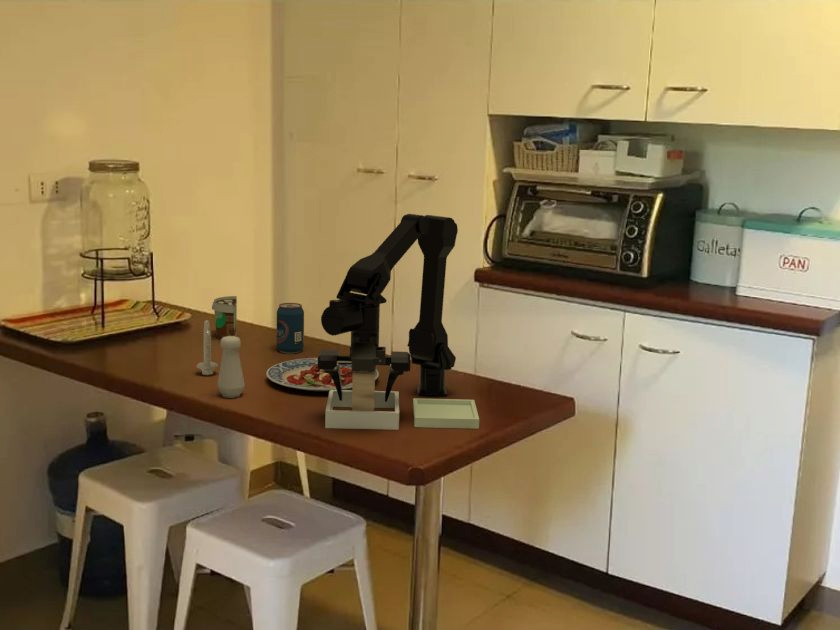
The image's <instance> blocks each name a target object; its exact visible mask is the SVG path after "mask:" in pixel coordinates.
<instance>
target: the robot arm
mask: <svg viewBox="0 0 840 630" xmlns="http://www.w3.org/2000/svg"><path fill="white" fill-rule="evenodd" d="M458 231H459V229H458V224H457V223H456V221H455V220H454V219H453V218H452V217H449V216H440V215H432V214H426V215H421V214H414V213H407V214H404V215H402V217H401V219H400V222H399V224H397V226H396V227H395V228H394V229H393V231H392V232H391V233H390V234H389V235H388V236H387V237H386V239H384V240H383V242H382V243H381V244H380V245H379V246H378V248H377V249H376V250H375V251H374V252H373V253H371V254H370V255H367V256H364V257H362V258H360V259H358V260H357V261H356V262H355V263H354V264H352V265H351V266H349V267H350V268H348V271H347V273H346V275H345V277H344V280H343V282H342V284H341V286H340V288H339V290H338V292H337V294H336V299H331V300H329V305H328V306H327V307H326V308H325V309H323V312H322V314H321V316H320V318H321V319H320V323H321V326H322V328H323V330H324V331H325V333H326V334H328V335H330V336H338V335H341V334H347V333H350V346H349V354H339V349H321V350H320V351H319V352H318V356H317V358H318V368H317V369H324V373H329V374H330V376H331V377H332V379H333V381H334V384H335V386H336V390H337V393H338V396H339V399H340V401H342V383H341V373H340V364H351V369H352V371H355V372H359V371H368V372H374V371H375V370H377V366H389V367H388V371H387V372H388V373H387V378H386V385H385V390H384V391H385V402H387V400H388V397H389V394H390V392H391V391H392V388H393V386H394V384H395V383H396V380H397V378H398V377H399V376H404V373H406V372H408V373H409V372H411V364H413V365H418V366H419V384H417V385H416V387H417V388H416V389H417V396H418V395H419V396H435V397H436V396H437V397H438V396H439V397H440V396H441V397H442V396H443V397H445V396H446V397H447V396H448V391H447V386H446V370H447V371H449V370H450V371H451V370H452V369H453V368H454V367H455V364H456V360H457V358H456V356H455V354H454V353H453V352H452V350H451V348H450V347H449V341H448V340H449V338H448V337H449V336H448V333H447V331H446V329H445V327H444V325H443V309H444V308H443V307H444V294H445V284H446V283H445V281H446V271H447V270H446V269H447V260H448V259H447V258H448V256H449V255H450V253H452V251H453V249H454V248H455V246H456V241H457V237H458V236H457V235H458ZM416 241H417V244H418V246H419V249H420V251H421V253H422V255H423V265H422V277H421V278H422V279H421V291H420V292H421V293H420V307H419V320H418V322H417V323H416V325H415V326H414V328H410V329H409V331H408V342H407V348H408V351H409V352H408V351H391V352H390V355H386V353H387V352H386V350H387V347H386V346H379V345H380V312H381V311H380V309H381V308H380V307H381V306H380V305H382V304H385V303H387V301H388V300H387V299H386V298H385V297H384V296H383V295H382V293H384V290H385V289H386V288H387V286H388V285H389V283H390V282H391V279H392V275H391V273H392V272H391V271H392V270H393V268H394V267H395V266H396V265H397V264H398V262H400V261H401V259H402V258H403V257H404V255H405V254H406V253H407V252H408V251H409V250H410V248H411V247H412V246H413V245H414V244H415V242H416Z"/></svg>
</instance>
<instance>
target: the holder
mask: <svg viewBox="0 0 840 630" xmlns="http://www.w3.org/2000/svg"><path fill="white" fill-rule="evenodd" d="M385 391H386V390H384V391H383V390H375V398H374V409H393V410H394V411H384V410H383V411H380V410H379V411H378V410H374V411H352V410H348V409H347V410H346V409H345V410H341V409H339V410H338V409H337V410H336V409H334V408H335V407H336V408H352V389H344V390H342V401H340V399H339V396H338V393H337V390H330V391H328V396H327V397H328V398H327V403H326V406H325V407H326V408H325V420H324V421H325V424H324V425H325V426H324V428H325V429H346V430H347V429H349V430H351V429H353V430H387V431H388V430H391V431H393V430H397V431H399V429H400V397H399V393H400V392H399V391H394V390H391V392H390V394H389V397H388V400H387V402H385Z"/></svg>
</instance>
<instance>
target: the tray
mask: <svg viewBox="0 0 840 630" xmlns="http://www.w3.org/2000/svg"><path fill="white" fill-rule="evenodd" d="M412 400H413V402H412V411H413V423H414V428H427V429H428V428H430V429H431V428H435V429H437V428H438V429H442V428H443V429H470V430H471V429H472V430H473V429H474V430H475V429H476V430H477V429H478V430H479V429H480V417H479V413H478V409H477V406H476V402H475V399H460V398H459V399H458V398H457V399H452V398H421V397H420V398H413V399H412Z"/></svg>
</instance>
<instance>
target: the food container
mask: <svg viewBox="0 0 840 630" xmlns="http://www.w3.org/2000/svg"><path fill="white" fill-rule="evenodd" d="M237 297H238V296H237V295H231V296H230V295H229V296H227V295H226V296H221V297H220V296H219V297H216V298H214V300H213V301H212V303H211V304H212V305H211V309H212V310H213V311H214V320H215V321H214V322H215V323H214V325H215V335H216V339H217V340H220V341H221V339H222V338H223V337H226V336H235V337H237V333H238V332H237V329H238V327H237V326H238V325H237V324H238V323H237V320H238V318H237V313H238V312H237V311H238V309H237V308H238V307H237V306H238V305H237V303H238V300H237V299H238V298H237Z"/></svg>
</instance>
